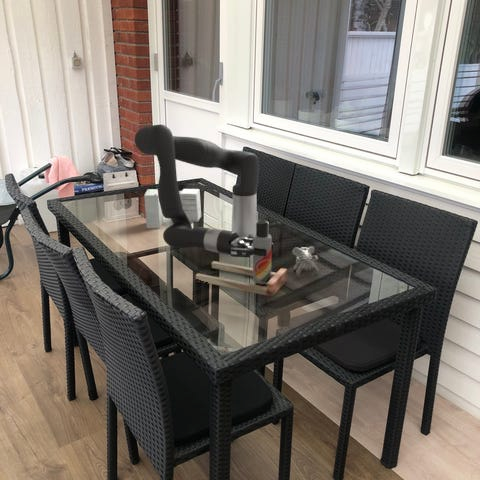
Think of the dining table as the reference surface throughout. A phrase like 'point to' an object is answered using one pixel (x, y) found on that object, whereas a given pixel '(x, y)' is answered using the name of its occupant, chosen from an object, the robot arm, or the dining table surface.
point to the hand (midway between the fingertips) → (269, 249)
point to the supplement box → (191, 204)
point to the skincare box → (153, 209)
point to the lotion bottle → (259, 262)
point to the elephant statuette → (305, 260)
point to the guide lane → (269, 290)
